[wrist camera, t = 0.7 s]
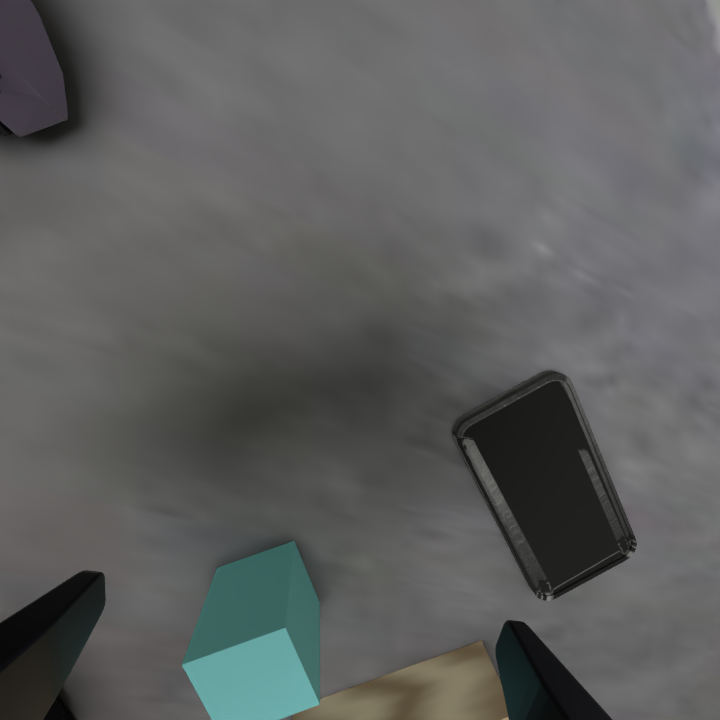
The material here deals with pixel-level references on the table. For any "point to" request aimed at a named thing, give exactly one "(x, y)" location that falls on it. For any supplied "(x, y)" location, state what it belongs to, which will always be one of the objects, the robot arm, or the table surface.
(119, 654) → the table surface
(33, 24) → the headphones
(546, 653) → the robot arm
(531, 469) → the phone
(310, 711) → the oak box
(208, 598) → the teal cube
